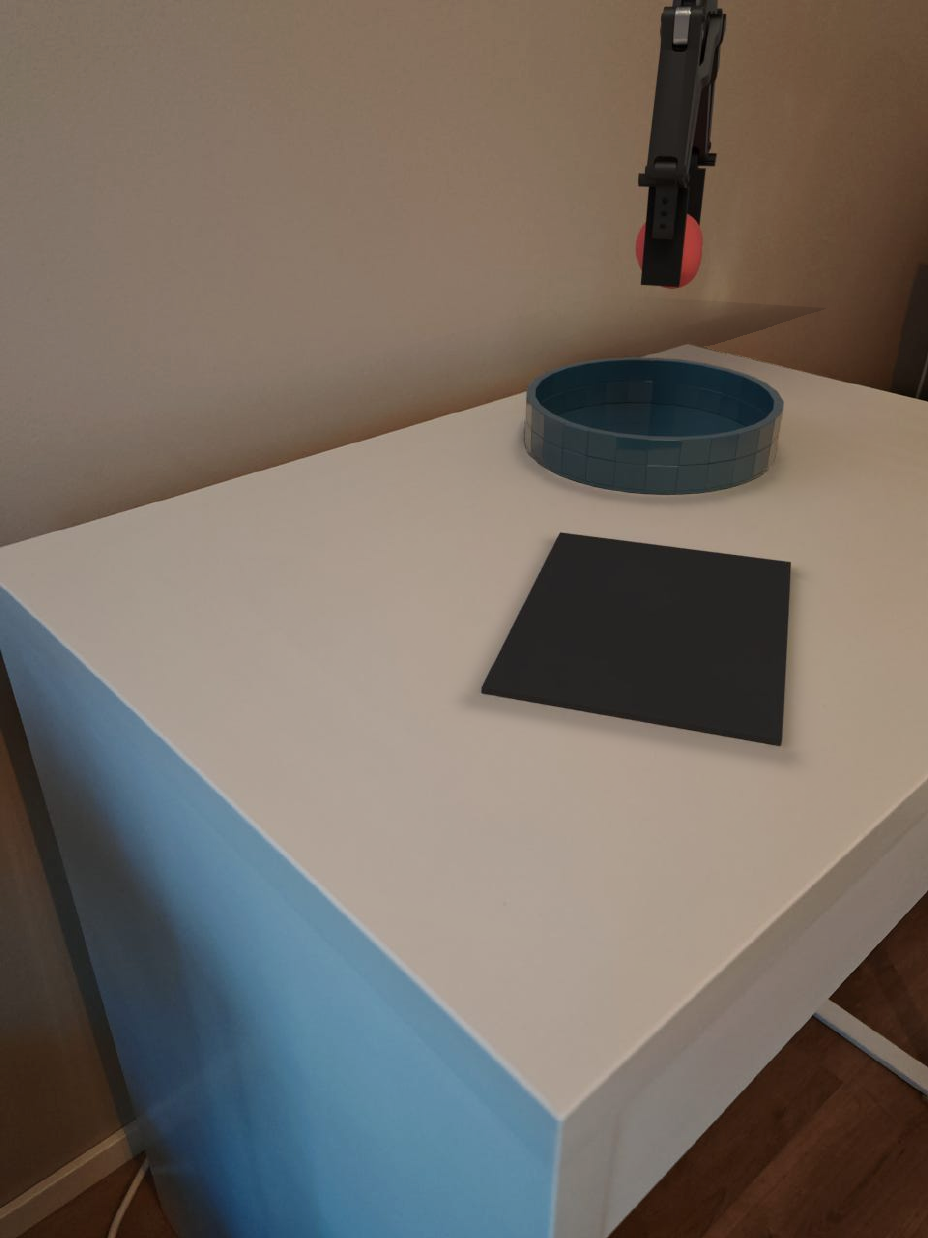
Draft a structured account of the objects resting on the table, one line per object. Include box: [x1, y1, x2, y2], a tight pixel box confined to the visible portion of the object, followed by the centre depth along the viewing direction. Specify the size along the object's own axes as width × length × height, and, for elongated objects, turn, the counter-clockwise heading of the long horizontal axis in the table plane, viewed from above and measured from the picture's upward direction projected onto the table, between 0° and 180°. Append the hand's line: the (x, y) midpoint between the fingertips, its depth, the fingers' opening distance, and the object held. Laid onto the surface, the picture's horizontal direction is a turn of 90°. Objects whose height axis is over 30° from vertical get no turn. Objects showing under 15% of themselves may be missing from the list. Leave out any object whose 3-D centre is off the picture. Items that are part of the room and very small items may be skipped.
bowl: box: [524, 356, 785, 495], centre depth 84 cm, size 22×22×4 cm
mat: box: [481, 531, 792, 746], centre depth 59 cm, size 16×20×1 cm
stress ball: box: [635, 214, 704, 290], centre depth 73 cm, size 5×9×6 cm, turn 156°
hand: (669, 269), depth 74 cm, fingers closed on stress ball, 10 cm apart
